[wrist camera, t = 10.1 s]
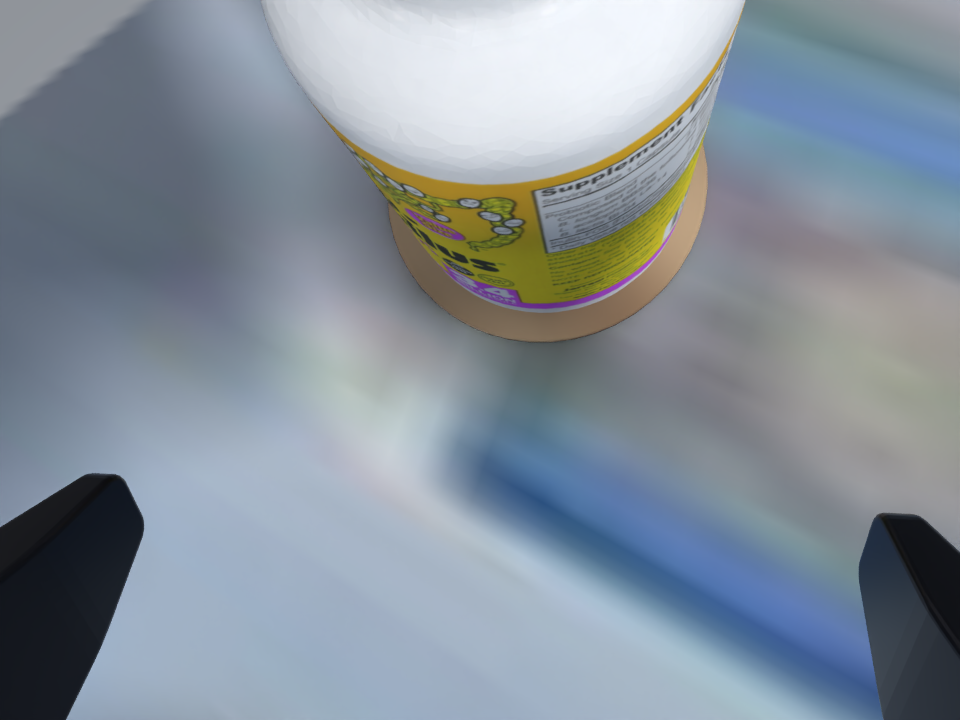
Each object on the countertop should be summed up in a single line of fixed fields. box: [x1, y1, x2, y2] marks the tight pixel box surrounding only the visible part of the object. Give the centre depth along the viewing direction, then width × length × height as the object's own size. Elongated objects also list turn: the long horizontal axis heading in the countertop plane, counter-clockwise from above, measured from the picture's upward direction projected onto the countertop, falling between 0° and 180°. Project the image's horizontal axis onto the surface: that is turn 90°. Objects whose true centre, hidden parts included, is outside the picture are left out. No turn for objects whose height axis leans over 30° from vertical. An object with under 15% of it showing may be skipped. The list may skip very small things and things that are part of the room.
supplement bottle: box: [261, 0, 745, 313], centre depth 13 cm, size 7×7×13 cm
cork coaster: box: [388, 143, 707, 342], centre depth 19 cm, size 8×8×1 cm
